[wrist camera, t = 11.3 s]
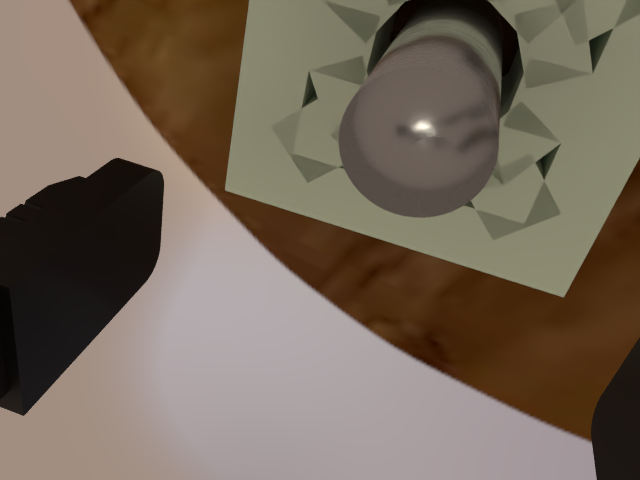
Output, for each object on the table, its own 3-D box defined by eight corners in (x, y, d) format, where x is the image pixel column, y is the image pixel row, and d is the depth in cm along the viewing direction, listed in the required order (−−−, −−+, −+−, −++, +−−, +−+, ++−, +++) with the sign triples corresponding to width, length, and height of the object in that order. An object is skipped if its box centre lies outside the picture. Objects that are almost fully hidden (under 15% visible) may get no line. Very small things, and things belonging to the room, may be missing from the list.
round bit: (518, 1, 23) (524, 94, 13) (483, 95, 25) (466, 236, 15) (422, -25, 24) (358, 46, 14) (396, 70, 26) (324, 191, 16)
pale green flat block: (729, -118, 20) (787, -115, 16) (555, 233, 28) (563, 297, 24) (323, -213, 22) (279, -233, 17) (265, 145, 29) (224, 190, 25)
